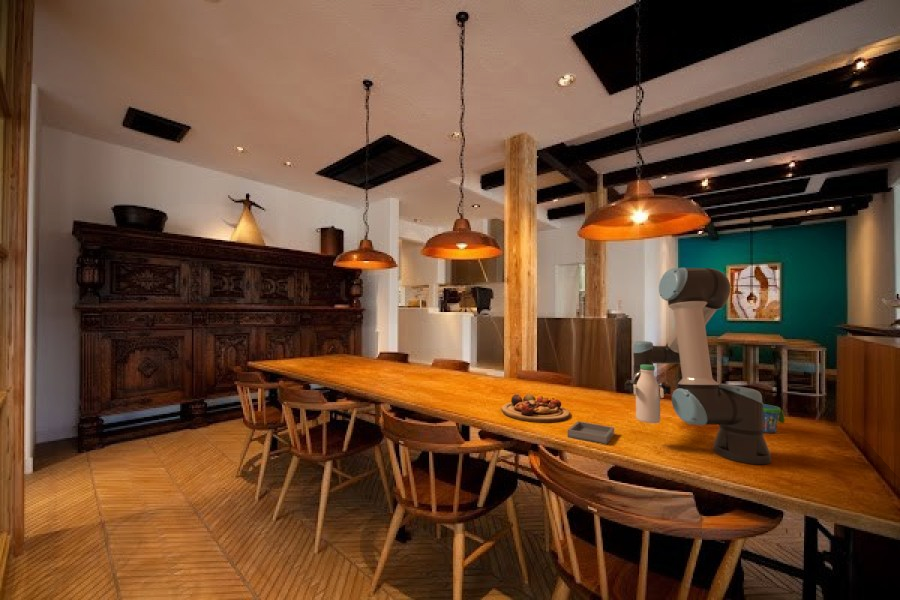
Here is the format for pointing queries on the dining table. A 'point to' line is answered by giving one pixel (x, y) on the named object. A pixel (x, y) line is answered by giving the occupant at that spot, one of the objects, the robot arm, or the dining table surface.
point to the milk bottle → (647, 396)
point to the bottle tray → (591, 432)
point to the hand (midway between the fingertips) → (648, 392)
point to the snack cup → (771, 418)
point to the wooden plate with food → (535, 409)
